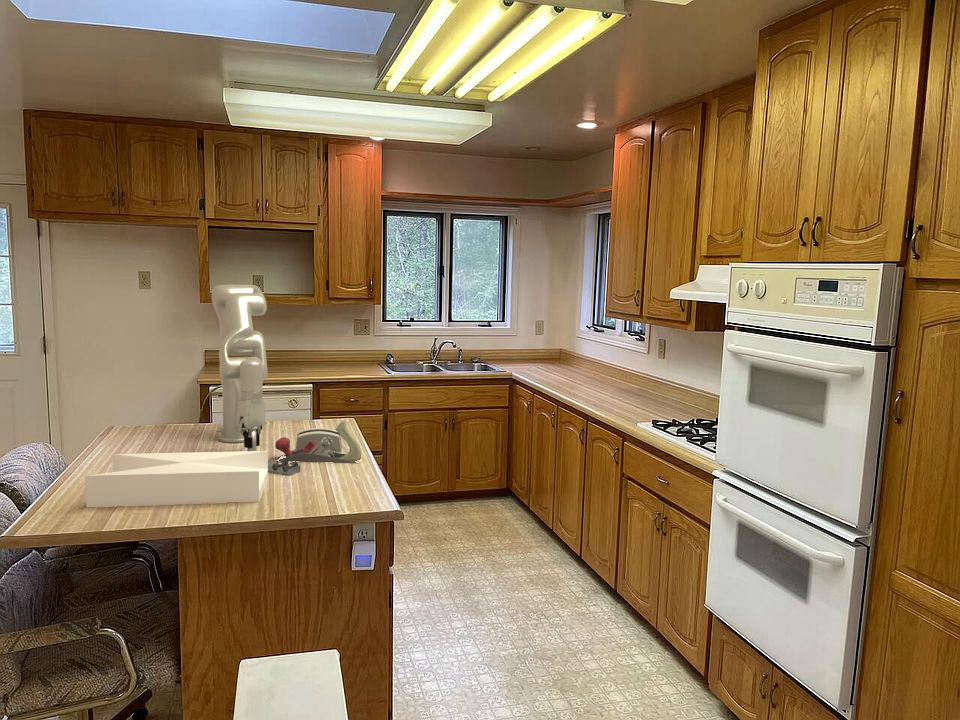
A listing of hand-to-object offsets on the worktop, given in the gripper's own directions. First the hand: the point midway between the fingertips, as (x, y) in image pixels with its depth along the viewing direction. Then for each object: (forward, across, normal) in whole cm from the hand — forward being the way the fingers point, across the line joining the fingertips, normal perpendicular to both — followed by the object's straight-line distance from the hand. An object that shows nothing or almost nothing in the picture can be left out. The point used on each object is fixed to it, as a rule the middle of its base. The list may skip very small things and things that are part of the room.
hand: (251, 446), depth 238 cm
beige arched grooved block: (+4, -17, +16) cm, 24 cm away
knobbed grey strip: (+4, +10, +10) cm, 15 cm away
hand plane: (+4, -8, +23) cm, 25 cm away
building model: (+4, +40, +9) cm, 41 cm away
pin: (+4, 0, 0) cm, 4 cm away
